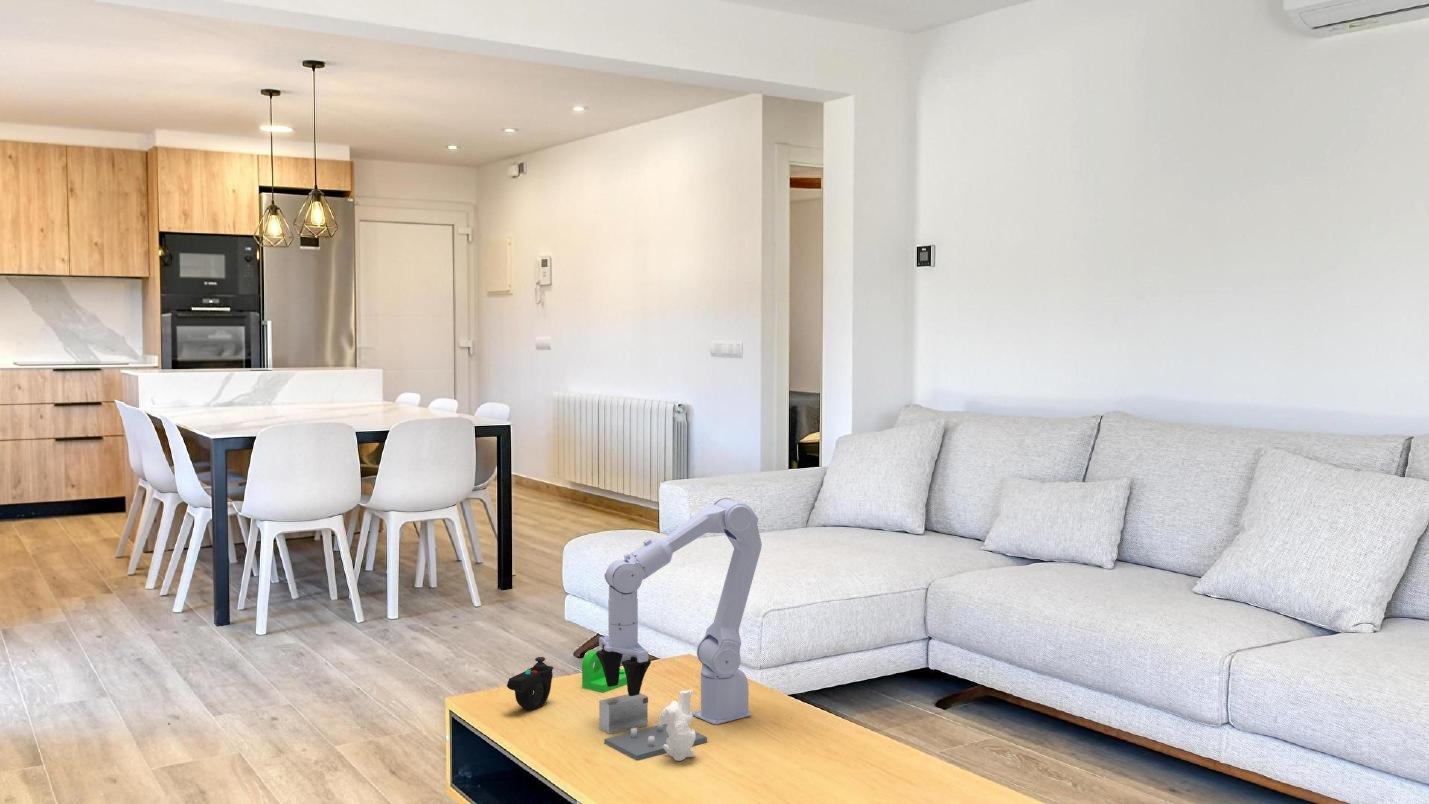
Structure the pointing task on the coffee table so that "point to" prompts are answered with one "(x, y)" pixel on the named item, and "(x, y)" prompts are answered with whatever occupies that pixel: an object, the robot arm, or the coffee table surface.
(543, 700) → the controller
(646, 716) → the block
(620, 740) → the pin tray
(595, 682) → the mechanical part
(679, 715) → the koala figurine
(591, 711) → the coffee table surface
